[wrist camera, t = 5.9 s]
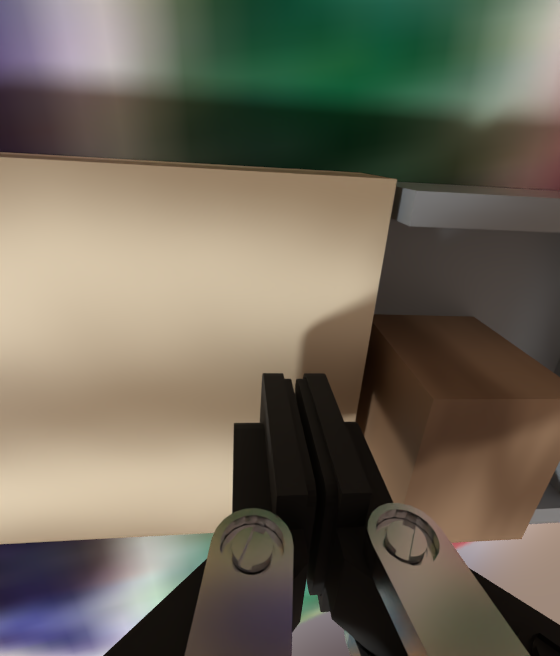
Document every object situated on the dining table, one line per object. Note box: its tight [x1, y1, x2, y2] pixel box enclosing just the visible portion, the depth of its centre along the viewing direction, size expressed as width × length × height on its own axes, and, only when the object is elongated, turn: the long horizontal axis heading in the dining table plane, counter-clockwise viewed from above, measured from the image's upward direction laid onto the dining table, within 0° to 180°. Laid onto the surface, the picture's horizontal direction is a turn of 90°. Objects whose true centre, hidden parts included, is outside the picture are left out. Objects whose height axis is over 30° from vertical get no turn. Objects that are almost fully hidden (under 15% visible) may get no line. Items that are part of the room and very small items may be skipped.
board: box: [0, 152, 397, 544], centre depth 12 cm, size 12×13×3 cm
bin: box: [374, 182, 560, 524], centre depth 13 cm, size 12×9×4 cm
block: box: [355, 314, 560, 543], centre depth 12 cm, size 5×5×4 cm
